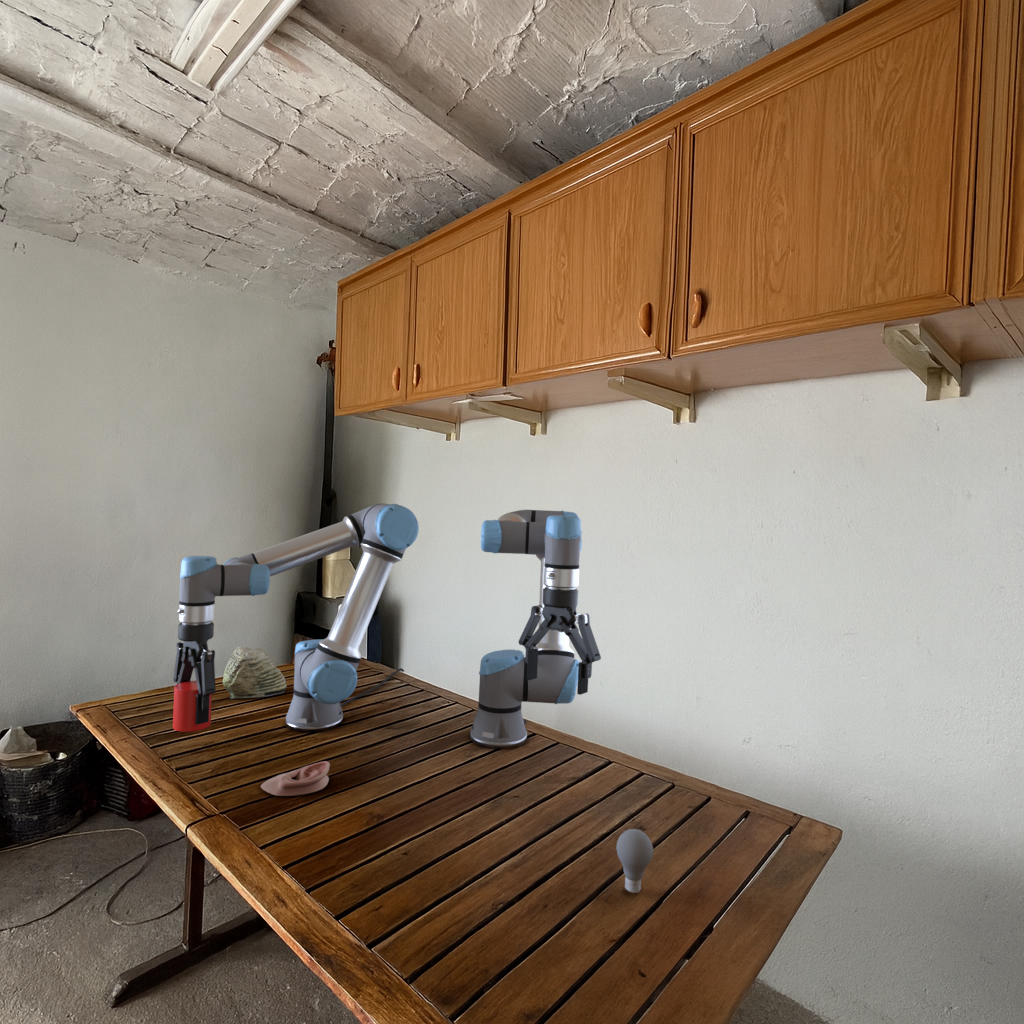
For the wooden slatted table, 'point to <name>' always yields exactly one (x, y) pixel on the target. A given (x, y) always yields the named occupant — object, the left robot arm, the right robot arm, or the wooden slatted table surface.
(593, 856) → the wooden slatted table surface
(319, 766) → the anatomical model
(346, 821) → the wooden slatted table surface
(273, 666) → the fossil
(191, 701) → the cylinder
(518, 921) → the wooden slatted table surface
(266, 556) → the left robot arm
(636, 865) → the light bulb
